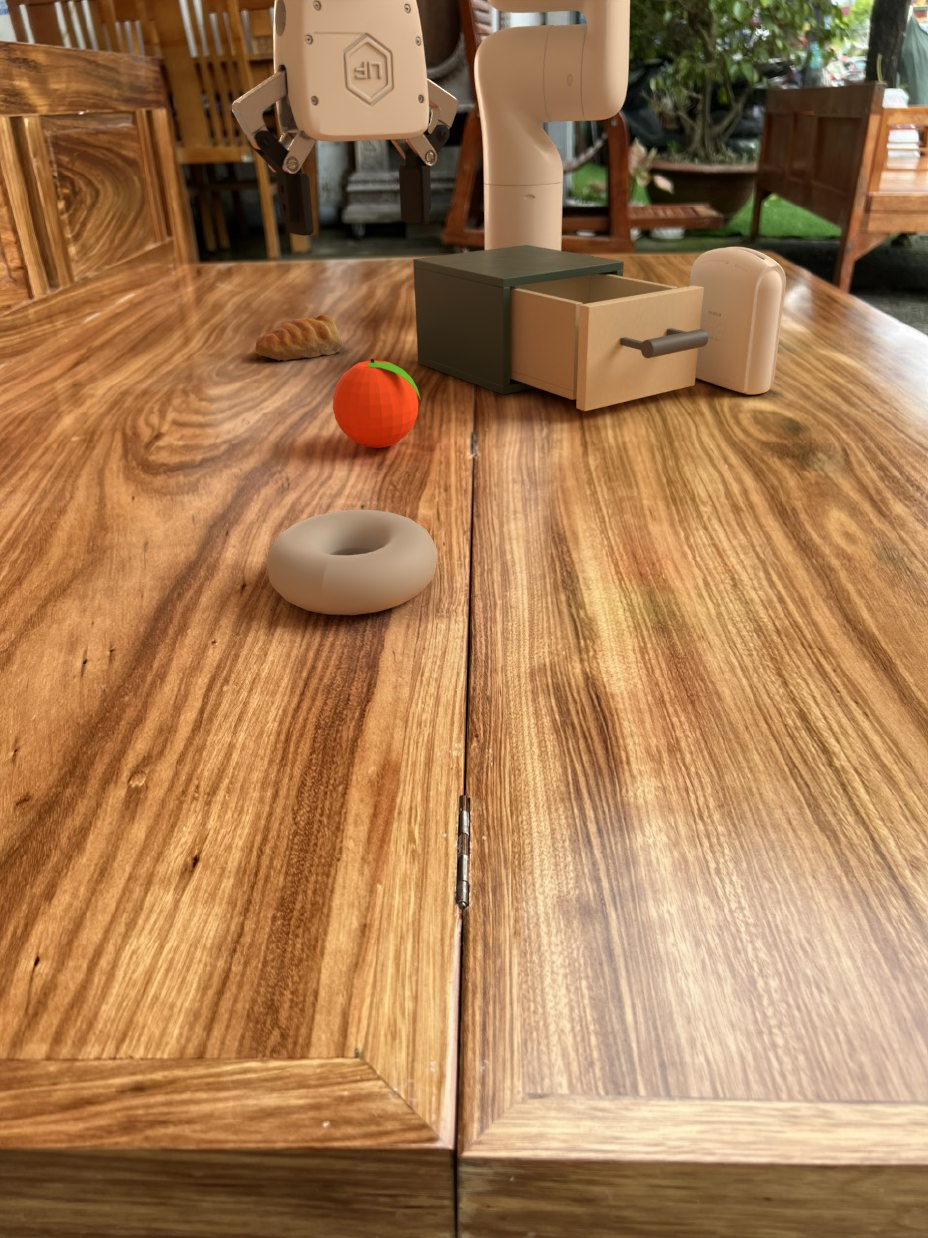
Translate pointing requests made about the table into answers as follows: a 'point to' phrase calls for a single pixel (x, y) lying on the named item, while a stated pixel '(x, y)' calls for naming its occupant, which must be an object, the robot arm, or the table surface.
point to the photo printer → (739, 317)
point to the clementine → (375, 403)
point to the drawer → (605, 337)
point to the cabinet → (484, 306)
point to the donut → (352, 562)
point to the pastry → (300, 339)
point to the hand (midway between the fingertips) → (359, 228)
